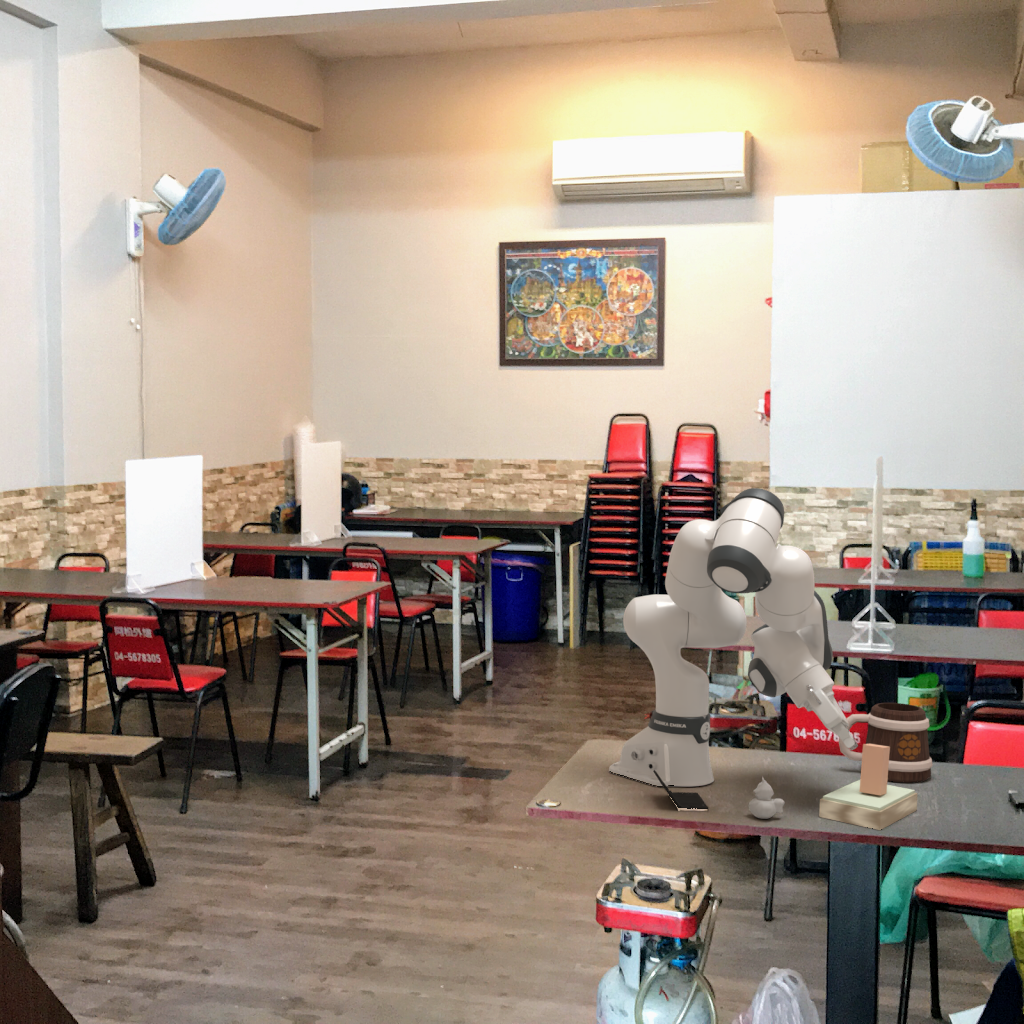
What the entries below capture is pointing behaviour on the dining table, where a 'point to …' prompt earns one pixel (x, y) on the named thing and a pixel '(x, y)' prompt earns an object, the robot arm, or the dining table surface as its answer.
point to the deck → (868, 806)
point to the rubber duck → (765, 802)
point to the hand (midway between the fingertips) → (853, 747)
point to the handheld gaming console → (684, 798)
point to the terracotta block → (874, 769)
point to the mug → (897, 739)
